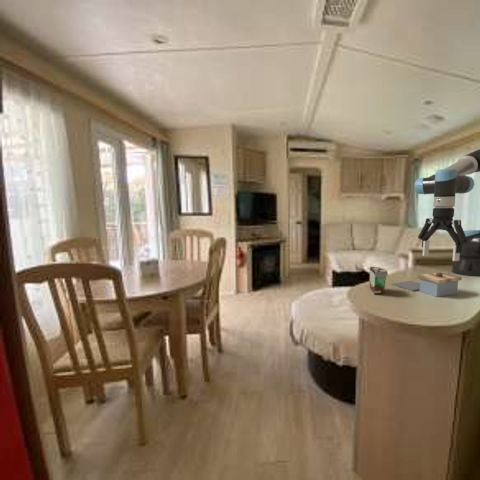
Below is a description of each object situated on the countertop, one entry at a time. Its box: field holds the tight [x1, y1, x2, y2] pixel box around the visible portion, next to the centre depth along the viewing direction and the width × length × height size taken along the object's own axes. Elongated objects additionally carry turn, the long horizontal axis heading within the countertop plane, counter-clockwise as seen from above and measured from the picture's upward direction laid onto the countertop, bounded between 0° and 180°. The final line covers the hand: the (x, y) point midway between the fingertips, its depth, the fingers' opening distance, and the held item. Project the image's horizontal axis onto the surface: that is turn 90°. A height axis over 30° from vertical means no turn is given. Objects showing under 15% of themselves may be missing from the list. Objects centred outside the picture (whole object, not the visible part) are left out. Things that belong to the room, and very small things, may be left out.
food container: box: [369, 266, 389, 296], centre depth 137 cm, size 12×6×10 cm, turn 168°
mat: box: [390, 280, 420, 292], centre depth 145 cm, size 12×12×1 cm
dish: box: [419, 278, 459, 298], centre depth 135 cm, size 12×8×6 cm, turn 110°
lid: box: [416, 271, 462, 283], centre depth 134 cm, size 13×10×2 cm
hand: (439, 258), depth 133 cm, fingers open, 13 cm apart
